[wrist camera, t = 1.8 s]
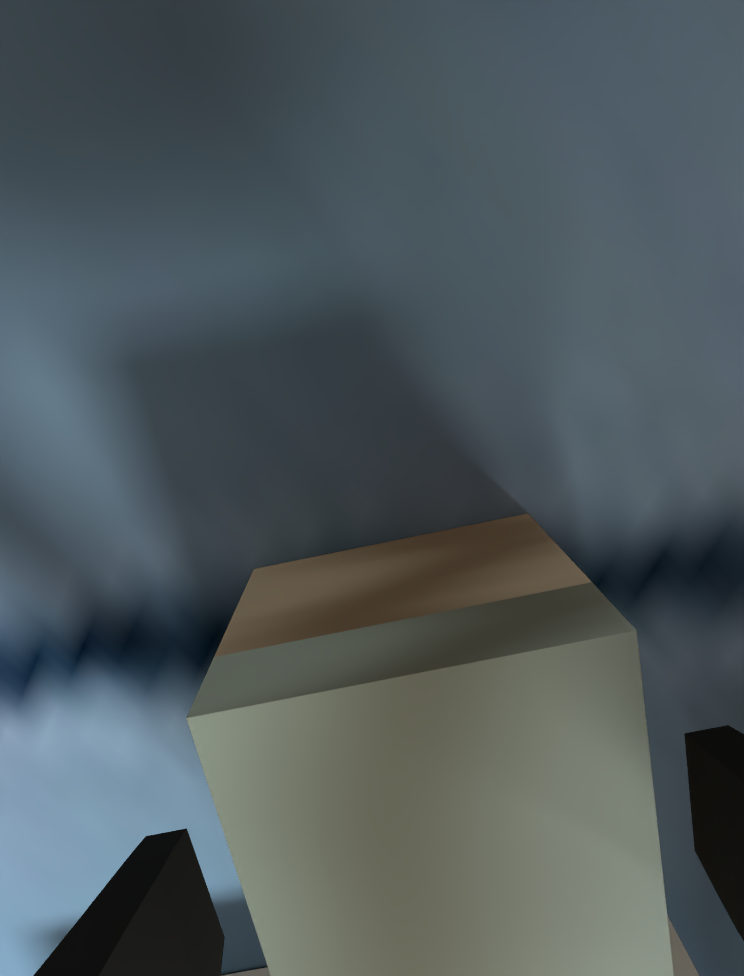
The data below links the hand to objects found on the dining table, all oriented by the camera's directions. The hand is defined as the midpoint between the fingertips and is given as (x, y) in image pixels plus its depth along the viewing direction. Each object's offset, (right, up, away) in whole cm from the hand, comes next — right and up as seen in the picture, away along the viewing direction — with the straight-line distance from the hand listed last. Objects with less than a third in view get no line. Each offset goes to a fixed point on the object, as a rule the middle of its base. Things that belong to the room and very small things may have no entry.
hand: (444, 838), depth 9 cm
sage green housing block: (0, +1, +3) cm, 3 cm away
